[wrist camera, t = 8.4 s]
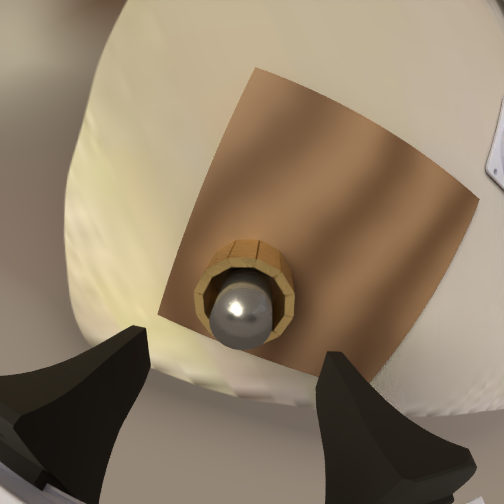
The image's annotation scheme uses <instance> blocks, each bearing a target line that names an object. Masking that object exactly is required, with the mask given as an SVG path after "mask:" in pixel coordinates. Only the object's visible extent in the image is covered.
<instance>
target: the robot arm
mask: <svg viewBox="0 0 504 504" xmlns="http://www.w3.org/2000/svg"><path fill="white" fill-rule="evenodd" d="M486 172H487V173H488V174H489V175H490V176H491V177H492V178H493V179H494V180H495V181H496V182H497V183H498V185H499V186H500V187H501V188H502V189H503V190H504V97H503V102H502V107H501V111H500V116H499V120H498V124H497V129H496V132H495V136H494V140H493V144H492V147H491V150H490V154H489V157H488V160H487V163H486ZM150 367H151V363H150V356H149V349H148V341H147V332H146V328H144V327H139V326H134V325H132V326H130V327H128V328H127V329H125V330H123V331H121V332H120V333H118V334H116V335H114V336H113V337H111V338H109V339H108V340H106V341H104V342H102V343H101V344H99V345H97V346H95V347H93V348H91V349H90V350H87V351H85V352H83V353H81V354H80V355H78V356H76V357H74V358H71V359H69V360H66V361H64V362H61V363H58V364H56V365H53V366H50V367H46V368H43V369H39V370H35V371H32V372H27V373H22V374H15V375H7V376H0V504H99V498H100V493H101V488H102V483H103V479H104V476H105V472H106V468H107V464H108V461H109V458H110V455H111V452H112V449H113V446H114V443H115V441H116V438H117V435H118V433H119V430H120V428H121V426H122V424H123V422H124V420H125V418H126V417H127V415H128V413H129V411H130V409H131V407H132V406H133V404H134V402H135V400H136V398H137V397H138V394H139V393H140V391H141V389H142V387H143V385H144V383H145V380H146V378H147V375H148V372H149V370H150ZM316 408H317V415H318V420H319V426H320V432H321V438H322V443H323V449H324V456H325V474H326V496H325V497H326V498H325V504H452V503H453V502H454V497H453V493H454V492H455V491H456V490H458V489H459V488H460V487H461V486H462V485H464V484H465V483H466V482H467V481H468V480H469V479H470V478H471V477H472V476H473V475H474V473H475V471H476V468H477V466H476V464H475V462H474V459H473V457H472V455H471V453H470V451H469V449H467V448H464V447H462V446H459V445H456V444H454V443H451V442H449V441H446V440H444V439H442V438H440V437H438V436H436V435H434V434H432V433H430V432H428V431H426V430H425V429H423V428H422V427H420V426H419V425H417V424H415V423H414V422H412V421H411V420H409V419H408V418H407V417H405V416H404V415H403V414H401V413H400V412H399V411H398V410H396V409H395V408H394V407H393V406H392V405H390V404H389V403H388V402H387V401H386V400H385V399H384V398H383V397H382V396H381V395H380V394H379V393H378V392H377V391H376V390H375V389H374V388H373V387H372V386H371V385H370V384H369V383H368V382H367V381H366V380H365V378H364V377H363V376H362V375H361V374H360V373H359V371H358V370H357V369H356V368H355V367H354V366H353V364H352V363H351V362H350V361H349V360H348V358H347V357H346V356H345V355H344V354H343V353H342V352H339V351H327V353H326V356H325V359H324V363H323V366H322V369H321V372H320V376H319V379H318V382H317V385H316ZM464 504H485V503H484V501H483V498H482V496H479V497H477V498H475V499H473V500H470V501H468V502H466V503H464Z"/></svg>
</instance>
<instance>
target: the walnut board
mask: <svg viewBox="0 0 504 504" xmlns="http://www.w3.org/2000/svg"><path fill="white" fill-rule="evenodd" d="M479 200H480V199H479V198H477V197H476V196H475V195H474V194H473V193H472V192H471V191H470V190H468V189H467V188H466V187H465V186H464V185H462V184H461V183H460V182H459V181H458V180H456V179H455V178H454V177H453V176H452V175H450V174H449V173H448V172H446V171H445V170H444V169H443V168H441V167H440V166H439V165H437V164H436V163H435V162H433V161H432V160H431V159H429V158H428V157H426V156H425V155H424V154H422V153H421V152H419V151H418V150H417V149H415V148H414V147H412V146H411V145H409V144H408V143H406V142H405V141H403V140H402V139H400V138H399V137H397V136H396V135H394V134H392V133H391V132H389V131H388V130H386V129H384V128H383V127H381V126H379V125H378V124H376V123H374V122H373V121H371V120H369V119H367V118H366V117H364V116H362V115H360V114H358V113H357V112H355V111H353V110H351V109H349V108H347V107H345V106H344V105H342V104H340V103H338V102H336V101H334V100H332V99H330V98H328V97H326V96H323V95H321V94H319V93H317V92H315V91H313V90H311V89H308V88H306V87H304V86H302V85H299V84H297V83H295V82H292V81H290V80H287V79H285V78H282V77H280V76H277V75H275V74H272V73H270V72H267V71H264V70H261V69H259V68H256V67H255V69H254V71H253V73H252V75H251V77H250V79H249V81H248V83H247V85H246V87H245V90H244V92H243V94H242V96H241V98H240V100H239V102H238V104H237V106H236V109H235V111H234V113H233V115H232V117H231V119H230V122H229V124H228V126H227V128H226V131H225V133H224V135H223V137H222V140H221V142H220V144H219V147H218V149H217V151H216V154H215V156H214V158H213V161H212V163H211V166H210V168H209V170H208V173H207V175H206V178H205V180H204V183H203V185H202V188H201V190H200V193H199V195H198V198H197V201H196V203H195V206H194V208H193V211H192V214H191V216H190V219H189V222H188V225H187V227H186V230H185V233H184V236H183V238H182V241H181V244H180V247H179V250H178V252H177V255H176V258H175V261H174V264H173V267H172V270H171V273H170V276H169V279H168V282H167V285H166V288H165V292H164V295H163V298H162V301H161V304H160V308H159V311H158V315H160V316H162V317H164V318H166V319H168V320H171V321H173V322H175V323H177V324H179V325H182V326H184V327H186V328H188V329H191V330H193V331H195V332H198V333H200V334H202V335H205V336H207V337H209V338H212V339H214V340H217V339H216V338H215V337H214V336H213V335H211V334H212V333H211V334H210V333H209V332H208V330H207V329H206V328H205V326H204V325H203V324H202V322H201V321H200V320H199V318H198V317H197V315H196V310H195V301H194V290H195V288H196V286H197V284H198V283H199V281H200V279H201V277H202V275H203V273H204V271H205V269H206V268H207V266H208V264H209V263H210V261H211V260H212V258H213V256H214V255H215V253H216V251H217V250H219V249H220V248H222V247H224V246H226V245H227V244H229V243H231V242H233V241H234V240H237V239H259V241H260V240H261V241H263V242H265V243H267V244H269V245H270V246H272V247H274V248H276V249H278V250H279V252H281V253H282V255H283V257H284V259H285V260H286V262H287V264H288V265H289V267H290V269H291V274H292V280H293V286H294V293H295V300H294V317H293V319H292V320H291V322H290V323H289V324H288V326H287V327H286V328H285V330H284V331H283V333H282V334H281V335H279V337H277V338H275V339H273V340H270V341H268V342H266V343H264V344H262V345H260V346H258V347H256V348H253V349H249V350H242V351H245V352H247V353H250V354H253V355H255V356H258V357H261V358H263V359H266V360H269V361H272V362H275V363H278V364H281V365H284V366H286V367H289V368H292V369H296V370H299V371H302V372H305V373H308V374H311V375H314V376H318V377H319V376H320V372H321V369H322V366H323V363H324V359H325V356H326V353H327V351H339V352H342V353H343V354H344V355H345V356H346V357H347V358H348V360H349V361H350V362H351V363H352V364H353V366H354V367H355V368H356V369H357V370H358V371H359V373H360V374H361V375H362V376H363V377H364V378H365V380H366V381H367V382H368V383H370V381H371V380H372V379H373V378H374V377H375V375H376V374H377V373H378V372H379V371H380V369H381V368H382V367H383V365H384V364H385V363H386V362H387V360H388V359H389V358H390V357H391V355H392V354H393V353H394V351H395V350H396V349H397V347H398V346H399V344H400V343H401V342H402V340H403V339H404V338H405V336H406V335H407V333H408V332H409V330H410V329H411V328H412V326H413V325H414V323H415V322H416V320H417V319H418V317H419V316H420V314H421V312H422V311H423V309H424V308H425V306H426V305H427V303H428V301H429V300H430V298H431V297H432V295H433V293H434V292H435V290H436V288H437V286H438V285H439V283H440V281H441V279H442V278H443V276H444V274H445V272H446V270H447V269H448V267H449V265H450V263H451V261H452V259H453V257H454V255H455V253H456V251H457V249H458V247H459V245H460V243H461V241H462V239H463V237H464V235H465V233H466V231H467V228H468V226H469V224H470V222H471V219H472V217H473V215H474V212H475V210H476V207H477V205H478V202H479ZM228 270H229V268H228V269H226V270H225V271H223V272H221V273H219V274H217V275H215V282H216V288H217V290H218V291H219V292H220V289H221V287H222V284H223V282H224V279H225V277H226V274H227V272H228ZM272 281H273V282H272V303H273V302H274V301H275V299H276V298H277V296H278V295H279V293H280V292H281V288H280V287H279V285H278V284H277V282H276V280H275V279H274V278H273V277H272ZM217 341H218V340H217Z"/></svg>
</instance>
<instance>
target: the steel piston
mask: <svg viewBox="0 0 504 504" xmlns="http://www.w3.org/2000/svg"><path fill="white" fill-rule="evenodd" d="M272 282H273V281H272V277H271V276H269V275H267V274H266V273H264V272H262V271H260V270H258V269H256V268H255V267H230V268H229V270H228V272H227V274H226V277H225V279H224V282H223V284H222V287H221V289H220V292H219V294H218V297H217V299H216V302H215V304H214V307H213V310H212V312H211V315H210V319H209V324H210V329H211V331H212V334H213V335H214V337H215V338H216V339H217V340H218V341H219V342H220V343H222V344H223V345H225V346H227V347H229V348H232V349H236V350H249V349H253V348H256V347H258V346H260V345H262V344H263V343H264V342H265V341H266V340H267V339H268V337H269V336H270V334H271V330H272Z"/></svg>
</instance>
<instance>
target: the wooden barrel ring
mask: <svg viewBox="0 0 504 504" xmlns="http://www.w3.org/2000/svg"><path fill="white" fill-rule="evenodd" d="M230 267H255V268H256V269H258V270H260V271H262V272H264V273H266V274H267V275H269V276H271V277H273V278H274V279H275V280H276V282H277V284H278V285H279V287H280V288H281V292H280V293H279V295H278V296H277V298H276V299H275V301H274V302H273V303H272V330H271V334H270V336H269V337H268V339H267V340H266V341H265V342H264V343H266V342H268V341H270V340H273V339H275V338H277V337H279V335H281V334H282V333H283V331H284V330H285V328H286V327H287V326H288V324H289V323H290V322H291V320H292V319H293V317H294V300H295V293H294V286H293V280H292V274H291V269H290V267H289V265H288V264H287V262H286V260H285V259H284V257H283V255H282V253H281V252H279V250H278V249H276V248H274V247H272V246H270V245H269V244H267V243H265V242H263V241H261V240H260V241H259V239H237V240H234V241H233V242H231V243H229V244H227V245H226V246H224V247H222V248H220V249H219V250H217V251H216V253H215V255H214V256H213V258H212V260H211V261H210V263H209V264H208V266H207V268H206V269H205V271H204V273H203V275H202V277H201V279H200V281H199V283H198V284H197V286H196V288H195V290H194V301H195V310H196V315H197V317H198V318H199V320H200V321H201V322H202V324H203V325H204V326H205V328H206V329H207V330H208V332H209V333H210V334H211V333H212V331H211V329H210V324H209V319H210V315H211V312H212V310H213V307H214V304H215V302H216V299H217V297H218V294H219V291H218V290H217V288H216V282H215V275H217V274H219V273H221V272H223V271H225V270H226V269H228V268H230ZM211 335H213V334H211ZM213 336H214V335H213ZM264 343H263V344H264Z"/></svg>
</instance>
